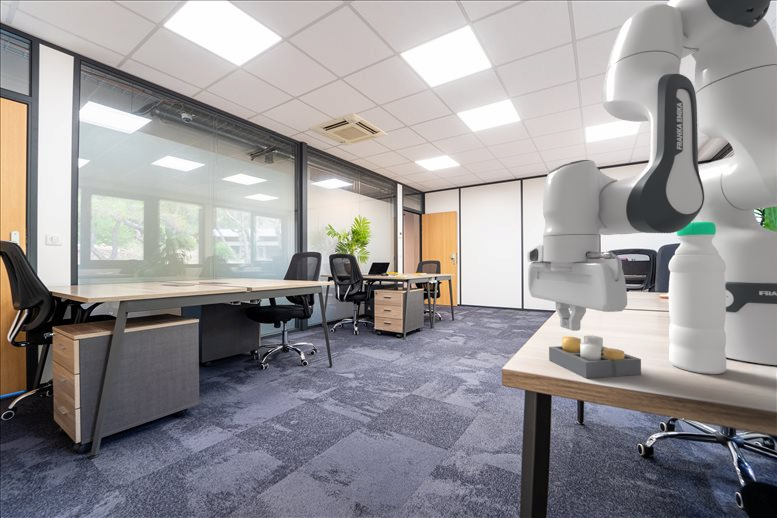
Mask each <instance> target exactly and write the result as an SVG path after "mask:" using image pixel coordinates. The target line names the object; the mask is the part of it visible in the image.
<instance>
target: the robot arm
mask: <svg viewBox="0 0 777 518" xmlns="http://www.w3.org/2000/svg"><path fill="white" fill-rule="evenodd" d="M771 2H772V0H668V1H667V2H665V3H658V4H653V5H649V6H647V7H646V6H645V7H644V8H642V9H640V10H638V11H637V12H634V13H633V14H632V15H631V16H630V17H629V18H628V19H626V21H625V22H624V23H623V24H622V26H621V27H620V29H619V32H618V34H617V36H616V38H615V41H614V43H613V46H612V48H611V52H610V55H609V58H608V61H607V66H606V70H605V75H604V80H603V85H602V89H601V91H602V93H601V99H602V100H601V101H602V106H603V108H604V109H605V111H607V113H608V114H609V115H611V116H612V117H614V118H616V119H619V120H622V121H628V122H634V123H635V122H638V123H639V122H642V123H643V122H648V123H649V140H648V141H649V143H648V144H649V145H648V147H649V150H648V151H649V152H648V163H647V165H646V166H645V168H644V169H643V170H642V171H641V172H639V173H637V174H636V175H633V176H631V177H628V178H624V179H620V180H618V179H616V178H612V177H610V176H609V175H606V174H605V173H603V172H602V171H601V170H600V169H599V168H598V167H597V166H596V162H595V161H594V160H593V159H592V160H591V159H580V160H575V161H572V162H568V163H564V164H562V165H559V166H557V167H555V168H553V169H552V170H551V171H550V172H548V174H547V176H546V178H545V182H544V189H543V200H542V201H543V202H542V203H543V205H542V207H543V208H542V211H543V212H542V213H543V218H544V222H545V227H544V231H543V235H542V242H541V243H540V244H539V245H537V246H536V247H534V248H532V249H530V250H529V251H528V252H527V261H528V262H529V263H530V264H529V266H528V271H527V272H528V274H527V278H528V280H527V281H528V282H527V283H528V291H529V295H530V296H531V297H532V298H535V299H541V300H546V301H550V302H555V309H556V312H557V314H558V317H559V323H560V327H561V328H563V329H567V330H570V331H573V332H574V331H575V332H576V331H577V332H578V331H580V330H581V321H582V320H583V318H584V317H585V315H586V312H587V309H588V310H593V311H600V312H604V313H615V312H616V313H617V312H619V313H620V312H623V311H624V310H625V309H626V307H627V306H628V291H627V285H626V278H625V274H624V270H623V261H622V260H621V259H620V257H619V256H618V255H616V254H614V252H612V251H600V236H612V235H632V234H641V233H643V234H644V233H646V234H673V233H677V231H680V230H682V229H683V228H685V227H686V226H687V225H689V224H690V223H691V222H713V223H714V224H715V226H716V233H715V235H714V236H715V237H714V238H713V239H712V244H713V246H714V247H715V248H716V249H717V250H718V255H720V256H721V257H722V259H723V260H724V262H725V264H726V270H725V272H724V278H725V288H726V316H725V325H724V330H725V333H726V345H725V355H726V359H727V358H728V359H732V360H737V361H742V362H750V363H754V364H755V363H756V364H762V365H771V366H777V231H775V230H771V229H768V228H764V227H763V226H762V225H761V224H760V222H759V221H758V220H757V217H756V215H755V210H759V209H766V208H775V207H777V42H776V39H775V36H774V35H773V32H772V29H771V27H770V25H769V23H768V22H767V20H766V19H765V16H766V14H767V13H768V10H769V8H770V5H771ZM689 55H691V57H692V58H693V59H694V61H695V66H694V67H695V68H694V84H693V82H692V81H691V79H690V78H688V77H687V76H686V75H683V74H682V73H681V74H680V70H681V69H680V68H681V64H682V63H681V62H682V59H683V58H686V57H688V56H689ZM698 128H699V130H700V132H701V133H702V134H704V135H705V136H707V137H710V138H713V139H714V138H715V139H719V140H720V139H721V140H726V142H728V143H729V145H730V146H731V147H732V151H733V155H732V156H729V157H725V158H722V159H717V160H713V161H711V162H706V163H703V164H700V165H699V149H698V148H699V147H698V146H699V143H698V142H699V141H698V136H699V135H698Z"/></svg>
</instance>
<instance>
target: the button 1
mask: <svg viewBox="0 0 777 518" xmlns="http://www.w3.org/2000/svg"><path fill="white" fill-rule="evenodd" d="M561 343H562V344H561V346H562V350H563V351H566V352H568V353H579V352H580V344H581V343H582V339H581V338H579V337H574V336H562V337H561Z"/></svg>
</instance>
